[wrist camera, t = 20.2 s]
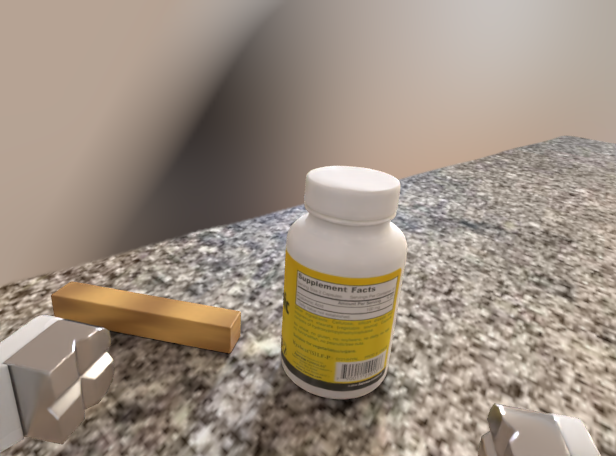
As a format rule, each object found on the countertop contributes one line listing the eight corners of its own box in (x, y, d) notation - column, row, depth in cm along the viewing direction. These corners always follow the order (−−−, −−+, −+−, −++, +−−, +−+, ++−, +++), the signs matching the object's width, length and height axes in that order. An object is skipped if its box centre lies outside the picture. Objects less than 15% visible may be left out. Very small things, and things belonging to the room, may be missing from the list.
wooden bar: (54, 320, 24) (50, 295, 23) (74, 305, 25) (70, 280, 24) (230, 354, 22) (230, 328, 22) (240, 336, 24) (241, 310, 23)
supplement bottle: (306, 321, 25) (321, 155, 22) (397, 351, 23) (431, 175, 20) (258, 377, 21) (266, 179, 17) (367, 421, 19) (403, 208, 15)
